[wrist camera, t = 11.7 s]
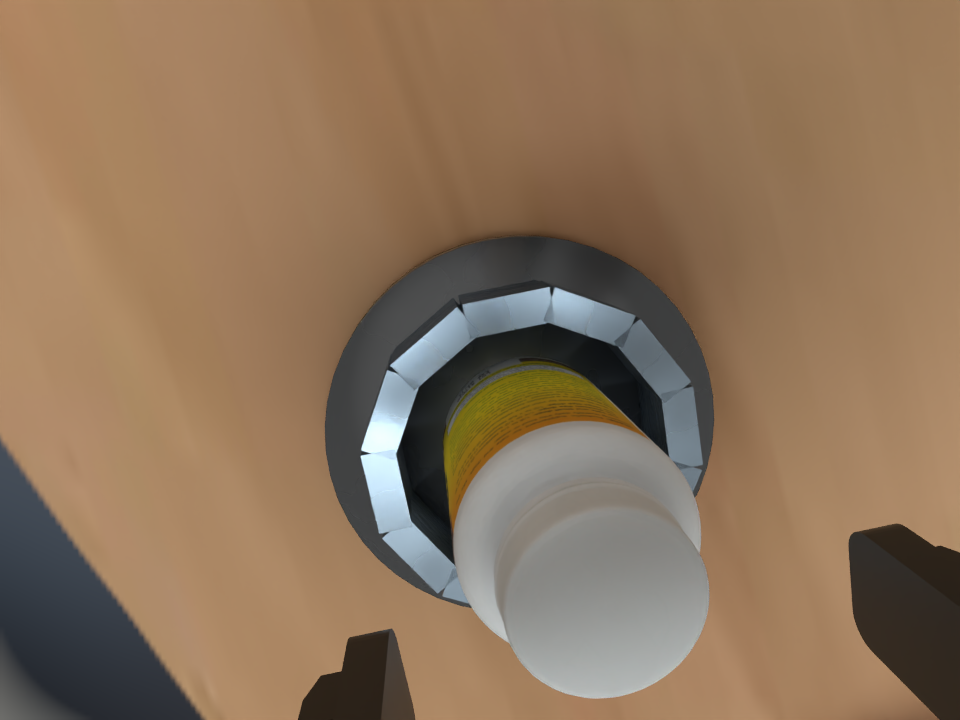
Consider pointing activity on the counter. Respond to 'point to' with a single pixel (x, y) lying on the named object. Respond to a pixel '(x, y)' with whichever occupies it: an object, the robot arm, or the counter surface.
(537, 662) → the supplement bottle
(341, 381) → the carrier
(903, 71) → the counter surface
